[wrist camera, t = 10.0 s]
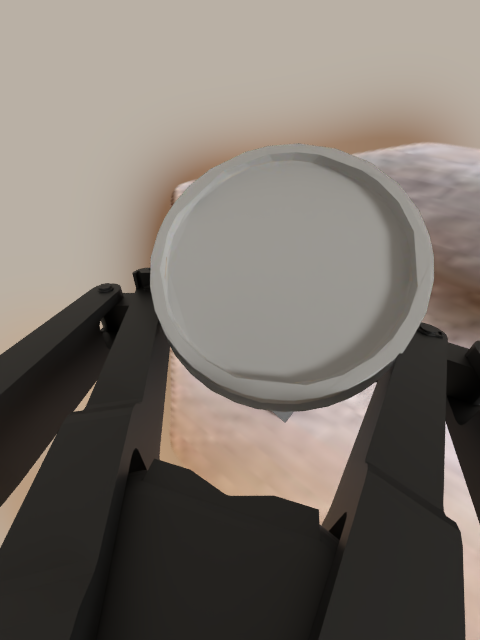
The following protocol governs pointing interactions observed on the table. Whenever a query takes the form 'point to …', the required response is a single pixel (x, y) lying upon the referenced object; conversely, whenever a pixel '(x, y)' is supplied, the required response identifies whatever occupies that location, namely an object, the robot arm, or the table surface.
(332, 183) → the disposable coffee cup
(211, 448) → the table surface
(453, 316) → the table surface
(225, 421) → the table surface
